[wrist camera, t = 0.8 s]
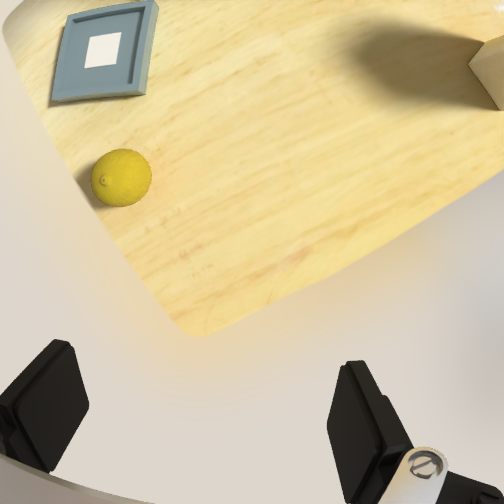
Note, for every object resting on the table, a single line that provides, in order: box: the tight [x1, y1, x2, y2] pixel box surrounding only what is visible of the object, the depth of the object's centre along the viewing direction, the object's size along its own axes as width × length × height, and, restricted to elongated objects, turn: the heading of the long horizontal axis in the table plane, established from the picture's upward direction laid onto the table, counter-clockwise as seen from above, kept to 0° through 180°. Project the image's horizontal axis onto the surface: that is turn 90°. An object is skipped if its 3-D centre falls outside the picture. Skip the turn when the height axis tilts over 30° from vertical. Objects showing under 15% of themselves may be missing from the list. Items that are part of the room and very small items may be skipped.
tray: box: [51, 0, 159, 102], centre depth 27 cm, size 11×11×2 cm
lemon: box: [91, 149, 152, 207], centre depth 28 cm, size 6×6×8 cm
